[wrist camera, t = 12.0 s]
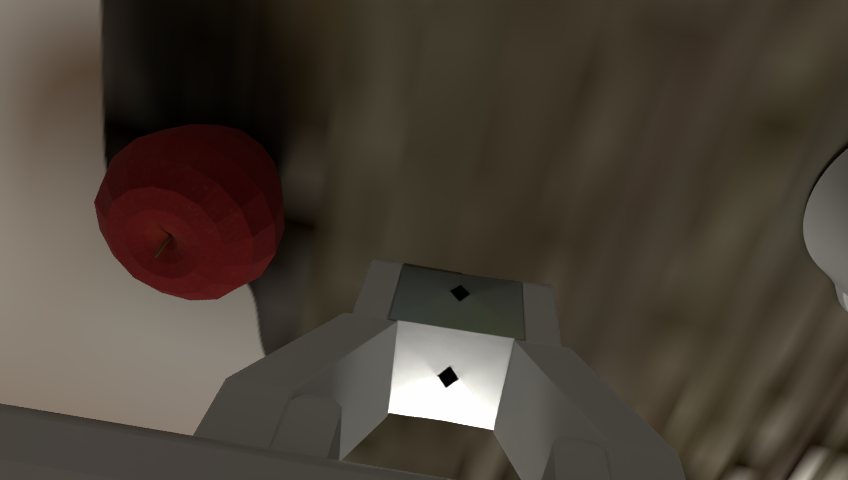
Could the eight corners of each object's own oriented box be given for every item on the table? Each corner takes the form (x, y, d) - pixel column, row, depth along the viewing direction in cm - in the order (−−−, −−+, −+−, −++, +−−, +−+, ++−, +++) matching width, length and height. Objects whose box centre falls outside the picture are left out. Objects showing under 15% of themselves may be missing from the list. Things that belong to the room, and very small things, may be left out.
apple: (339, 193, 48) (288, 286, 37) (236, 256, 52) (161, 357, 41) (239, 65, 44) (145, 126, 32) (136, 145, 48) (20, 223, 36)
